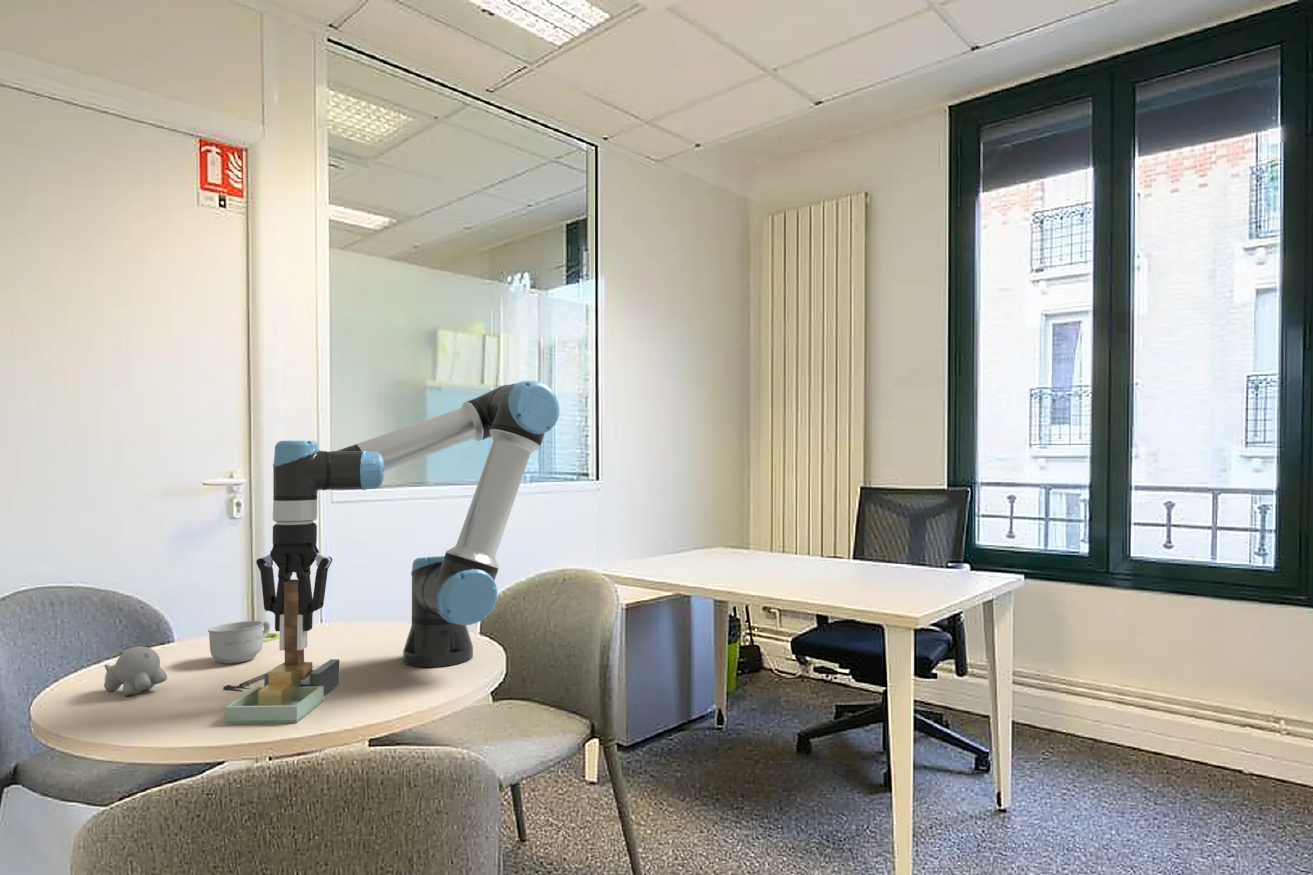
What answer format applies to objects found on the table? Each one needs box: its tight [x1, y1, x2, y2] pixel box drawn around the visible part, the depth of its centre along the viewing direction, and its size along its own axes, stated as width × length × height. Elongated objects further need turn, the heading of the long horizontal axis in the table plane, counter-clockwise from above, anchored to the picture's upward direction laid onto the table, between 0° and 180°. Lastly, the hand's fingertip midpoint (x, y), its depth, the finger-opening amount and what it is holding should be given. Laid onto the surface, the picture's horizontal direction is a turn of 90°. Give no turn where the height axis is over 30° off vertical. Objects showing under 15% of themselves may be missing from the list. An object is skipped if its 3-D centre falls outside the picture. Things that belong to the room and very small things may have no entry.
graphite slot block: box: [263, 658, 340, 698], centre depth 146 cm, size 10×10×5 cm
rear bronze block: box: [268, 664, 301, 693], centre depth 139 cm, size 4×4×4 cm
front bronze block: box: [258, 683, 292, 706], centre depth 135 cm, size 4×4×4 cm
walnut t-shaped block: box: [283, 578, 314, 680], centre depth 142 cm, size 5×4×18 cm
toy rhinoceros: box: [103, 646, 168, 697], centre depth 147 cm, size 7×12×8 cm, turn 74°
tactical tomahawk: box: [222, 672, 267, 692], centre depth 157 cm, size 21×7×1 cm, turn 166°
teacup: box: [207, 619, 271, 665], centre depth 171 cm, size 14×11×8 cm
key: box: [263, 632, 280, 643], centre depth 190 cm, size 7×12×2 cm, turn 75°
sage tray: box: [224, 686, 324, 725], centre depth 135 cm, size 12×12×3 cm
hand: (293, 648), depth 142 cm, fingers closed on walnut t-shaped block, 2 cm apart
